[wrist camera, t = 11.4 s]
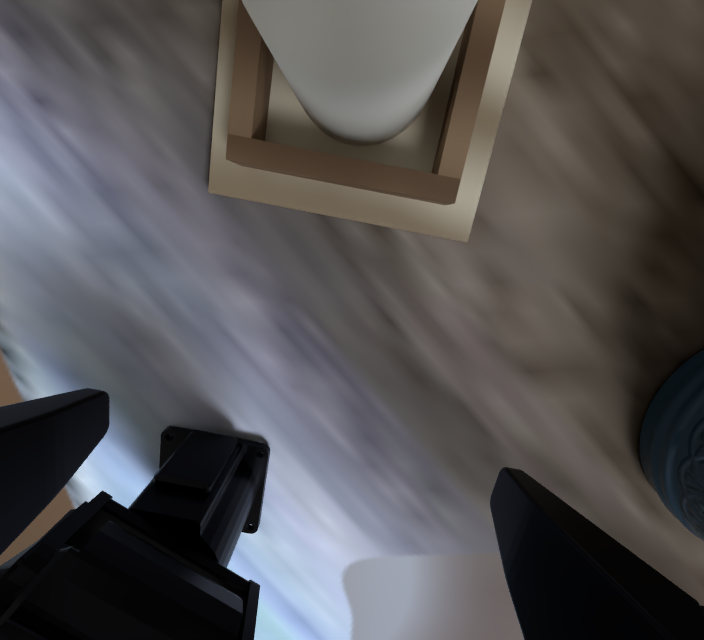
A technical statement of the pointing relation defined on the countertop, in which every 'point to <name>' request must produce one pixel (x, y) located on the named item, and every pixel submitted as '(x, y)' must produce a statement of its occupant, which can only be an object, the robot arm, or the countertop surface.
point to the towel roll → (361, 58)
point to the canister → (678, 444)
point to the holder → (365, 161)
